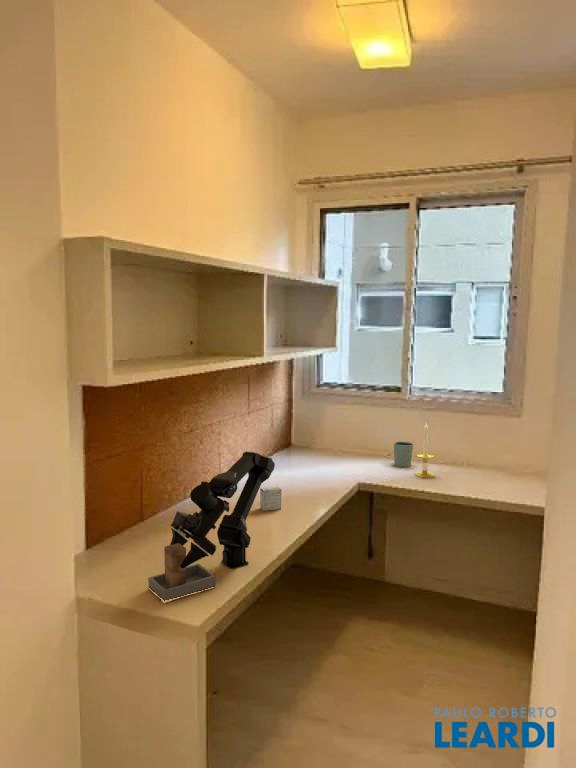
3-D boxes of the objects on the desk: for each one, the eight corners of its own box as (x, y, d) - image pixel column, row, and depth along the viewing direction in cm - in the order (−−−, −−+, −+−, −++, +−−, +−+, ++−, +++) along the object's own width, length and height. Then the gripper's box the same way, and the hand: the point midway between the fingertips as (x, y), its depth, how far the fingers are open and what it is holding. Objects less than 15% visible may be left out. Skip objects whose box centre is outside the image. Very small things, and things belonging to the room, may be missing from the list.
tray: (198, 574, 172) (198, 563, 171) (215, 587, 163) (215, 576, 163) (148, 589, 162) (148, 577, 162) (163, 603, 154) (163, 591, 154)
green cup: (389, 464, 304) (389, 442, 302) (404, 462, 309) (404, 440, 307) (401, 468, 295) (402, 446, 294) (416, 466, 300) (417, 444, 298)
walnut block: (179, 582, 165) (178, 543, 163) (186, 588, 161) (185, 548, 160) (165, 586, 162) (164, 546, 161) (171, 592, 158) (171, 551, 157)
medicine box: (277, 506, 235) (278, 485, 234) (281, 509, 231) (281, 488, 230) (259, 508, 232) (259, 487, 231) (263, 511, 228) (263, 490, 227)
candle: (412, 472, 289) (414, 420, 286) (432, 472, 289) (434, 420, 285) (417, 477, 279) (418, 423, 276) (437, 477, 279) (439, 423, 276)
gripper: (176, 493, 169) (141, 536, 164) (205, 510, 154) (169, 559, 149) (200, 513, 175) (167, 556, 170) (231, 531, 160) (196, 579, 155)
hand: (174, 561), depth 161 cm, fingers open, 9 cm apart
